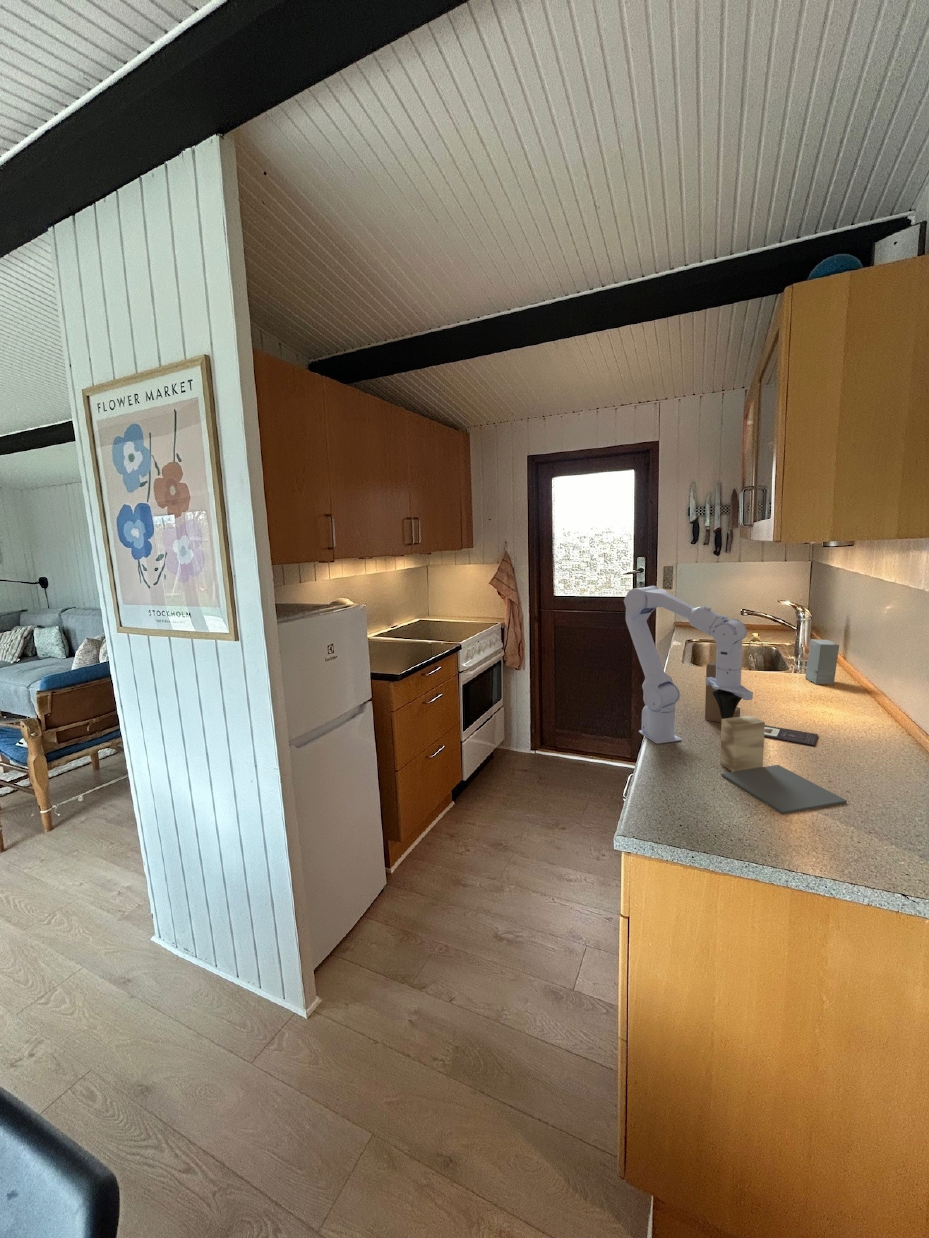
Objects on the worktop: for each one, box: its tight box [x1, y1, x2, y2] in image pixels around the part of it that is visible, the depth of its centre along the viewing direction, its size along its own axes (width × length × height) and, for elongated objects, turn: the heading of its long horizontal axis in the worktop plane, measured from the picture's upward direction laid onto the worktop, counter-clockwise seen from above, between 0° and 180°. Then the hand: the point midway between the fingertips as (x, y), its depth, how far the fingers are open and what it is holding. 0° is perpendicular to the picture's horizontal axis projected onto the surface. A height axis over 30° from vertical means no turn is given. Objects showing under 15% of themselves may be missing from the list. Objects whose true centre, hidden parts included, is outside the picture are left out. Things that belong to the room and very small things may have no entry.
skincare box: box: [805, 638, 840, 685], centre depth 189 cm, size 8×7×16 cm
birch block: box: [719, 715, 766, 772], centre depth 124 cm, size 5×8×12 cm, turn 102°
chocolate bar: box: [764, 724, 819, 748], centre depth 144 cm, size 9×1×18 cm
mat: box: [720, 764, 848, 815], centre depth 114 cm, size 18×16×1 cm
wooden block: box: [704, 661, 741, 724], centre depth 154 cm, size 9×4×18 cm, turn 49°
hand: (726, 718), depth 129 cm, fingers closed
